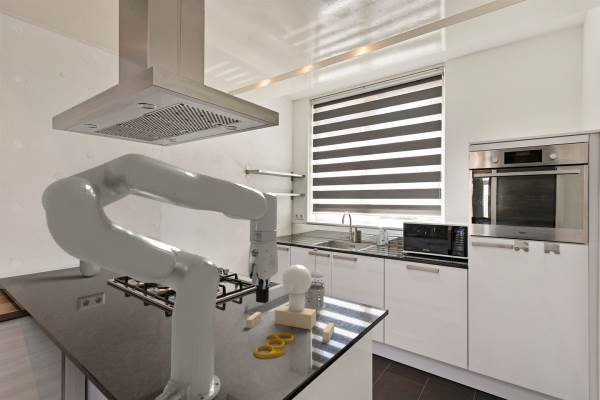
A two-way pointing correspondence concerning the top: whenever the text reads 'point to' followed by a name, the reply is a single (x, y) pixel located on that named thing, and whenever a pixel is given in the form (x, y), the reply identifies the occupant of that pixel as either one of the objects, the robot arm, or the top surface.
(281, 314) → the cream blocks and ball
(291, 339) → the novelty glasses
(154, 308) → the top surface
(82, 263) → the glass bottle
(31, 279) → the top surface
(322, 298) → the french press
